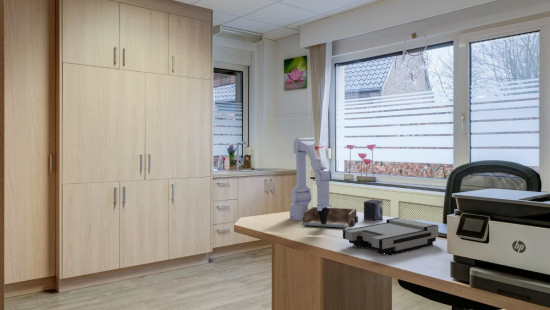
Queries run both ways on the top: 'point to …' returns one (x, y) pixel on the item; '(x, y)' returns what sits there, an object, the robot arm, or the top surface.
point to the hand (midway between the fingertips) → (323, 223)
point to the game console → (393, 236)
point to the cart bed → (332, 216)
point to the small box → (373, 210)
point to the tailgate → (324, 225)
